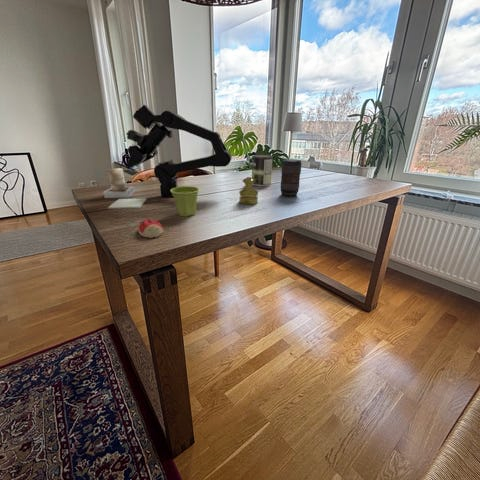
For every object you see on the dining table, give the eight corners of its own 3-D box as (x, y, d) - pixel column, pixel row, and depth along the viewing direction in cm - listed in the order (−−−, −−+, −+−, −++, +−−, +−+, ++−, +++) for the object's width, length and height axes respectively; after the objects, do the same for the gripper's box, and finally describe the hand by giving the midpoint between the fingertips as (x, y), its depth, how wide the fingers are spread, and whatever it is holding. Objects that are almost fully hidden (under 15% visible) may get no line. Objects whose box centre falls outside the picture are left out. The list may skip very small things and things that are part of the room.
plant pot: (194, 219, 85) (193, 193, 82) (168, 217, 87) (165, 192, 84) (204, 210, 94) (202, 187, 90) (179, 208, 96) (177, 185, 92)
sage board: (146, 199, 106) (146, 198, 106) (139, 208, 96) (138, 206, 96) (119, 200, 105) (118, 198, 105) (108, 208, 95) (108, 207, 95)
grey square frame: (134, 192, 118) (133, 186, 116) (127, 197, 109) (126, 191, 108) (113, 192, 117) (112, 186, 116) (104, 198, 108) (103, 192, 107)
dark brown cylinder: (300, 194, 116) (303, 159, 110) (295, 198, 109) (299, 162, 103) (282, 192, 119) (285, 158, 113) (277, 196, 112) (279, 160, 106)
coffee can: (253, 186, 129) (253, 157, 123) (250, 182, 138) (250, 154, 133) (273, 186, 130) (275, 157, 124) (268, 181, 140) (270, 154, 134)
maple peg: (128, 193, 116) (124, 168, 111) (124, 196, 111) (119, 170, 106) (116, 193, 115) (111, 168, 111) (111, 196, 110) (105, 170, 106)
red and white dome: (144, 241, 70) (142, 229, 69) (135, 229, 78) (133, 218, 76) (168, 236, 73) (166, 224, 72) (157, 225, 81) (156, 214, 80)
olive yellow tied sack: (254, 205, 99) (255, 179, 95) (236, 203, 102) (236, 178, 98) (259, 201, 106) (260, 176, 102) (242, 199, 108) (243, 175, 104)
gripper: (146, 122, 109) (125, 149, 114) (128, 122, 92) (104, 154, 97) (167, 142, 112) (145, 168, 117) (153, 145, 95) (128, 175, 100)
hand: (131, 166), depth 108 cm, fingers open, 9 cm apart
